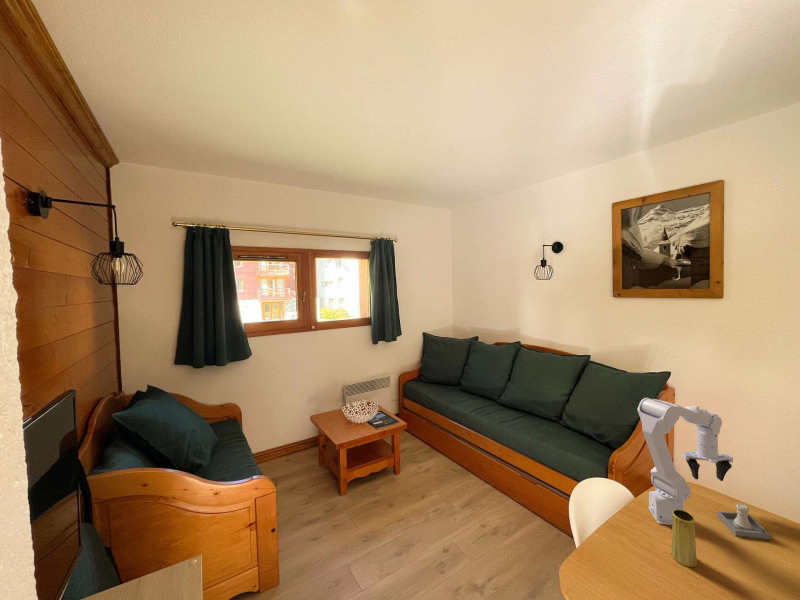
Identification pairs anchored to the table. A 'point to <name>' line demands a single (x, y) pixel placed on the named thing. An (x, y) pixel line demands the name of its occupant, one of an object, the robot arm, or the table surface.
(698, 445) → the robot arm
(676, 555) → the vase
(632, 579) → the table surface
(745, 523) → the rook chess piece
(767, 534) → the tray
